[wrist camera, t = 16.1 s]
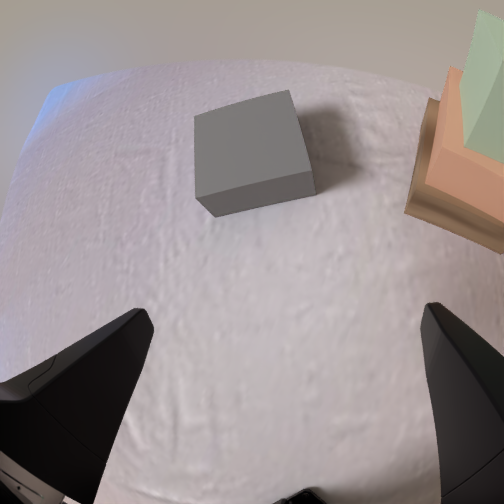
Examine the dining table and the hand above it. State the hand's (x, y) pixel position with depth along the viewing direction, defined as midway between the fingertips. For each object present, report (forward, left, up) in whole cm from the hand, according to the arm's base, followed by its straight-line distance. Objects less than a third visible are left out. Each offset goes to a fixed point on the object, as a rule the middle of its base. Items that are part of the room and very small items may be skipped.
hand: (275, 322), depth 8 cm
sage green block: (-2, -18, -5) cm, 19 cm away
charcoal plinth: (+14, -7, -14) cm, 20 cm away
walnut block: (-2, -18, -14) cm, 23 cm away
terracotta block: (-2, -19, -9) cm, 21 cm away
